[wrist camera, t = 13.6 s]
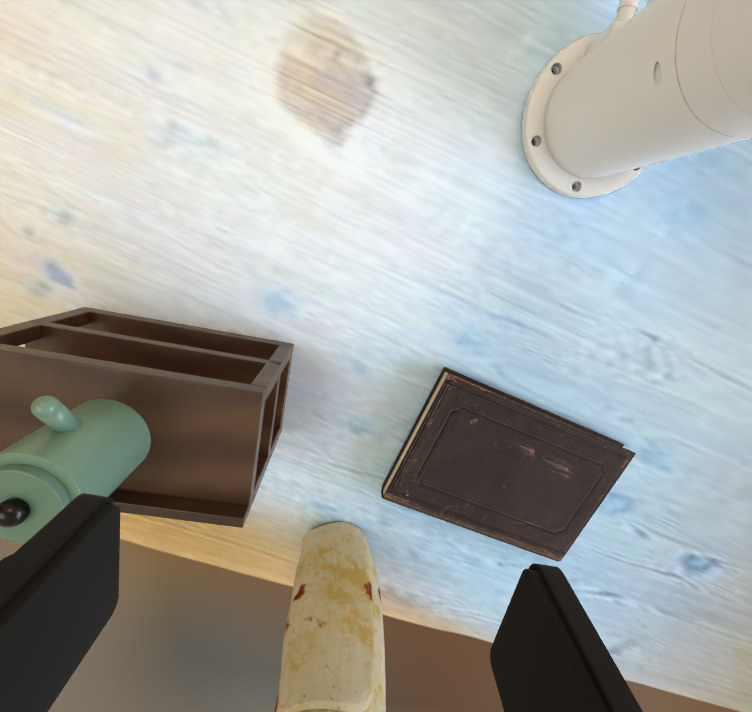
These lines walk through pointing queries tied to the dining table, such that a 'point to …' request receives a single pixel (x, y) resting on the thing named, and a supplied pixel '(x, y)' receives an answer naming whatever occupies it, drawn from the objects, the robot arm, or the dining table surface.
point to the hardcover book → (503, 467)
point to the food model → (334, 627)
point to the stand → (158, 403)
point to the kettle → (67, 461)
